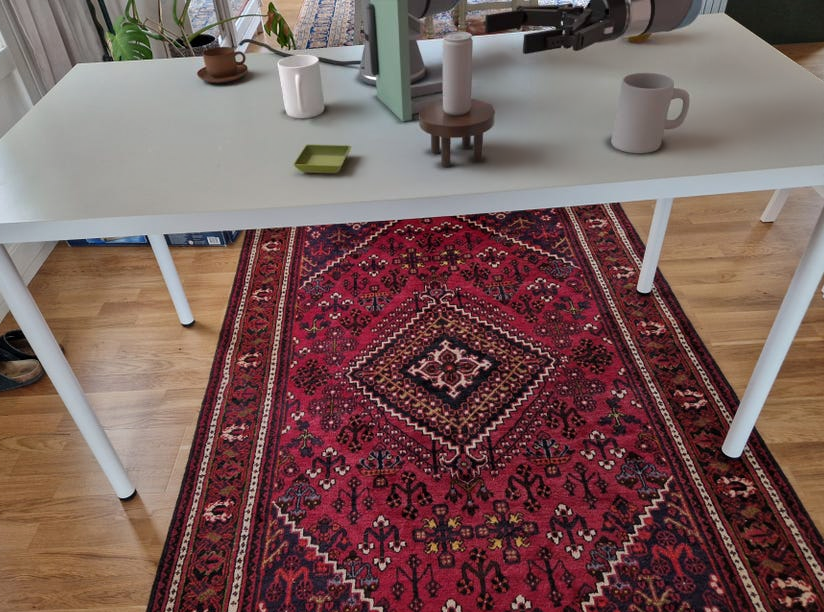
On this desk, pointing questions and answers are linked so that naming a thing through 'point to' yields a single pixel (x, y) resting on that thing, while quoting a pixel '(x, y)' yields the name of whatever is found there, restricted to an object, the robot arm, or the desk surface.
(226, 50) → the cup and saucer
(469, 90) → the beverage can
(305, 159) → the green square dish
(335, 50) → the desk surface
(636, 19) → the robot arm
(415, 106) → the mint green upright panel
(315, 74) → the cup
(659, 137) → the mug
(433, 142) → the stool
